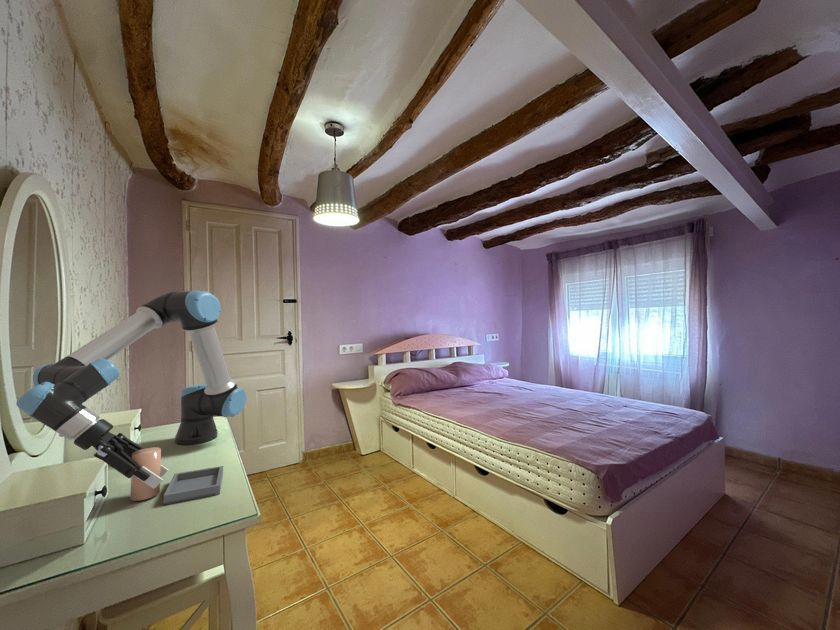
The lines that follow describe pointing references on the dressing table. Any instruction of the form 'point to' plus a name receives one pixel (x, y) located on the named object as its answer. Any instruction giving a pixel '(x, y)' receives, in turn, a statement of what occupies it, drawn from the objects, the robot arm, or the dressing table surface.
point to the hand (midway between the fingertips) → (161, 478)
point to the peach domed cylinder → (150, 461)
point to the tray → (194, 485)
